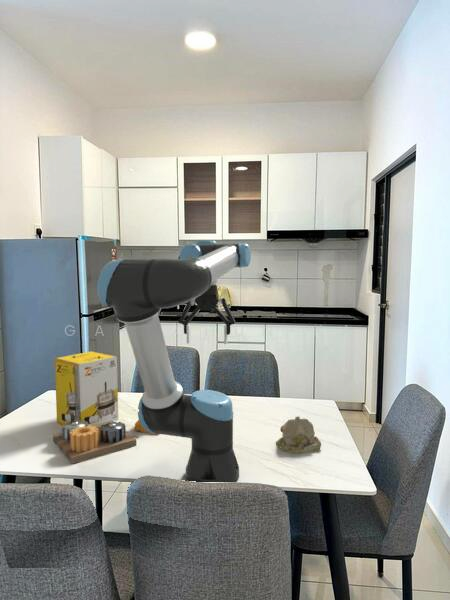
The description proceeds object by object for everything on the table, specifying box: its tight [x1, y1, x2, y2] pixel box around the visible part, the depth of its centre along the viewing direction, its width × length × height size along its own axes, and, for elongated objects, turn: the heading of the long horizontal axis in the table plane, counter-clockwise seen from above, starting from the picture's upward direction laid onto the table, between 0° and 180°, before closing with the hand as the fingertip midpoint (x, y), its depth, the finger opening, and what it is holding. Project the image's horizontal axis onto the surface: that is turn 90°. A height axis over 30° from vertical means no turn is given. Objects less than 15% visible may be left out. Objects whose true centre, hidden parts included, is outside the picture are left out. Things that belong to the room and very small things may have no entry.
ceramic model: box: [275, 415, 322, 455], centre depth 132 cm, size 14×11×10 cm
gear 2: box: [99, 421, 127, 444], centre depth 134 cm, size 8×8×5 cm
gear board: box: [52, 421, 137, 465], centre depth 135 cm, size 21×21×6 cm
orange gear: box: [70, 426, 98, 452], centre depth 128 cm, size 8×8×5 cm
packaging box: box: [54, 350, 119, 426], centre depth 154 cm, size 16×16×25 cm
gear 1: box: [61, 413, 88, 441], centre depth 135 cm, size 8×8×7 cm
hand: (207, 343), depth 144 cm, fingers open, 13 cm apart
